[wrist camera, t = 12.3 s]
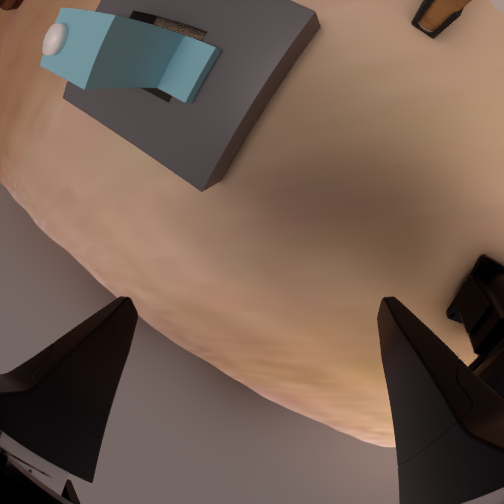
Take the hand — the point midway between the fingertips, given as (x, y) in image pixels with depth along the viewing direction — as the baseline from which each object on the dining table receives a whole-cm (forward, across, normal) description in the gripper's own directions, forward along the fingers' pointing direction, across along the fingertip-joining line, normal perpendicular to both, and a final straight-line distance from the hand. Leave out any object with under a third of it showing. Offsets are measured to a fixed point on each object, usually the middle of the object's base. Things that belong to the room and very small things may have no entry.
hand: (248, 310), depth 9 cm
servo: (+15, +7, -11) cm, 20 cm away
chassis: (+15, +7, -11) cm, 20 cm away
